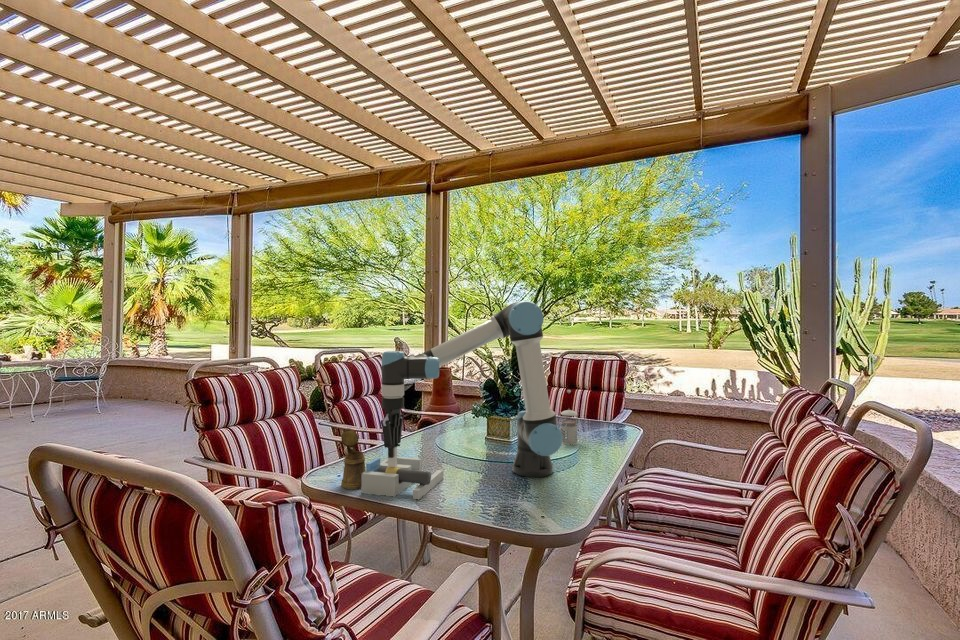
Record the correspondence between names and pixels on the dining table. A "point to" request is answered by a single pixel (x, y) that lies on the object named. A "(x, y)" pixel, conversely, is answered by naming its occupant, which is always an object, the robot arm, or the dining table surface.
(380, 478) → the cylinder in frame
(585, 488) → the dining table surface
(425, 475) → the rod
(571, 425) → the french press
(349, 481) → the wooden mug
